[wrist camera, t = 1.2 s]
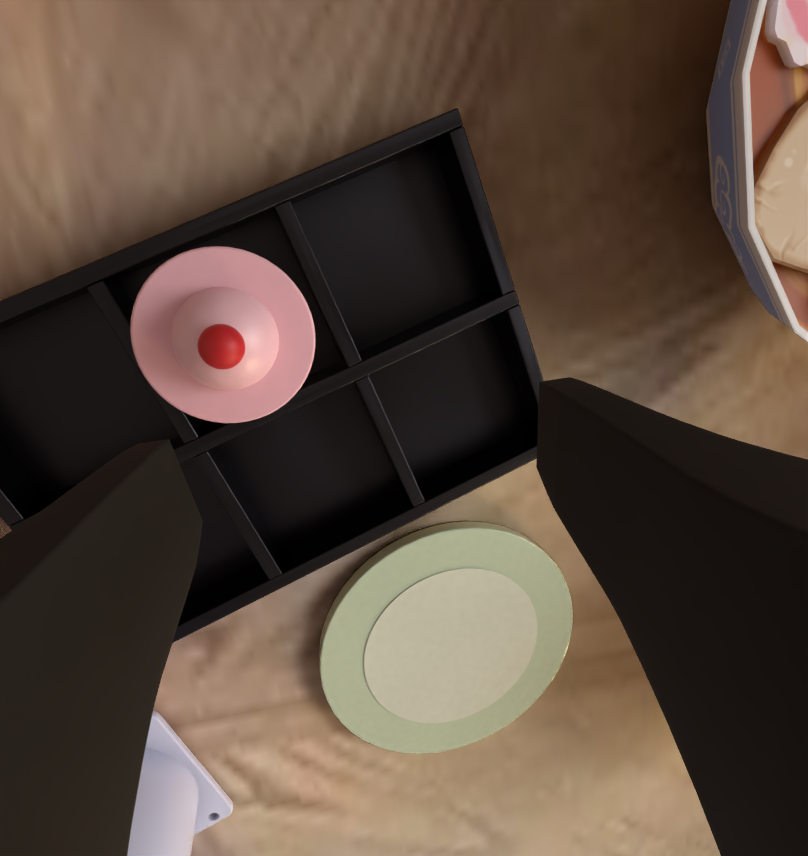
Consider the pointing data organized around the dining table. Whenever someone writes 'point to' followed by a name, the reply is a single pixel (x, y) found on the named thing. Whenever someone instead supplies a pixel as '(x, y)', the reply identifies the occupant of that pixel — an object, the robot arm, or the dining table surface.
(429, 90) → the dining table surface
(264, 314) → the cupcake
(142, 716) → the robot arm
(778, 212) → the ramen bowl
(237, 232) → the black compartment tray
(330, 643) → the plate
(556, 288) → the dining table surface
